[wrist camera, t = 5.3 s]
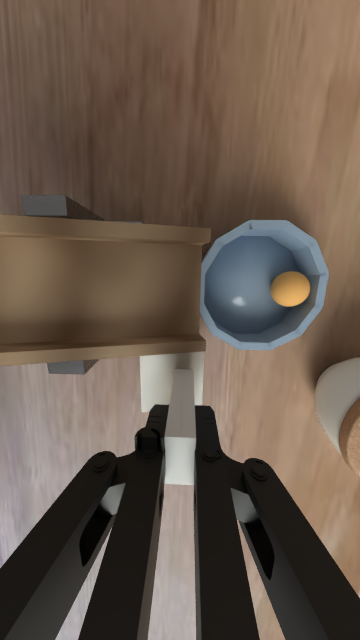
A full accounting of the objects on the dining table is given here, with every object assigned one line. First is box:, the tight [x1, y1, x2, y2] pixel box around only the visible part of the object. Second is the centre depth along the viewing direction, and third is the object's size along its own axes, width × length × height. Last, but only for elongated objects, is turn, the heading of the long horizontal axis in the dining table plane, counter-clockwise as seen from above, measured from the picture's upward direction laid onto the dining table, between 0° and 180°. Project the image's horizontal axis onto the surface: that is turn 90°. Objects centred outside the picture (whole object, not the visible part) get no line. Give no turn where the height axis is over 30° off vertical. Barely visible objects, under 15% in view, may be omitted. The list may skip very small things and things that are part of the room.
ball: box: [270, 271, 310, 307], centre depth 18 cm, size 3×3×3 cm
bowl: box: [200, 220, 329, 350], centre depth 19 cm, size 11×11×4 cm
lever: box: [0, 214, 211, 412], centre depth 13 cm, size 18×14×3 cm
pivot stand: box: [22, 195, 143, 374], centre depth 16 cm, size 7×12×9 cm, turn 179°
